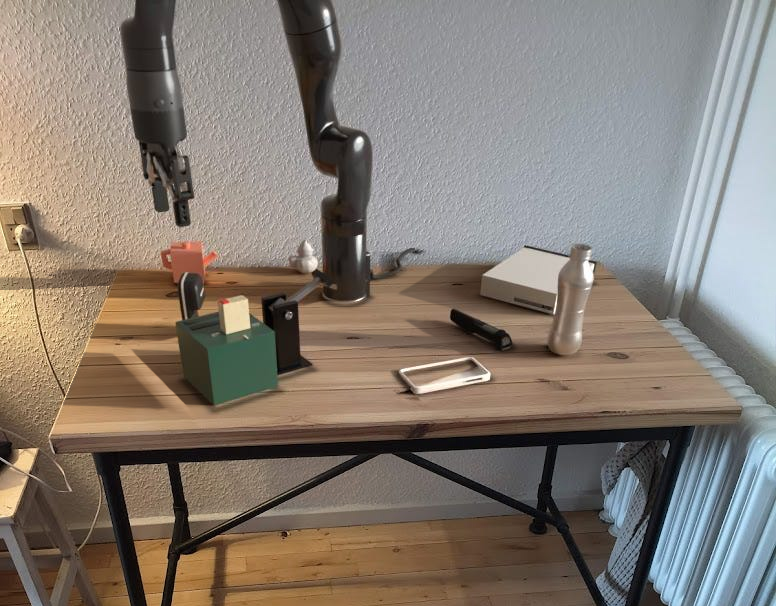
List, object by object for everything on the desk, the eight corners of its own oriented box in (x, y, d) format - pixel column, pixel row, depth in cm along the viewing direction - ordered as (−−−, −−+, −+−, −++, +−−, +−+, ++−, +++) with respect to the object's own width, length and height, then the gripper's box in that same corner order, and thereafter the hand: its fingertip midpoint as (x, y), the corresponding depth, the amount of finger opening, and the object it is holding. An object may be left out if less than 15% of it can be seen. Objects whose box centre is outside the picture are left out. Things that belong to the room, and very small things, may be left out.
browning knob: (244, 324, 127) (242, 293, 124) (250, 328, 126) (247, 297, 122) (220, 330, 125) (217, 299, 122) (226, 334, 124) (222, 303, 120)
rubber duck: (319, 276, 174) (318, 240, 169) (290, 277, 173) (288, 241, 168) (316, 267, 178) (315, 232, 173) (287, 268, 177) (285, 233, 172)
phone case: (471, 362, 142) (397, 376, 138) (471, 355, 142) (397, 369, 137) (490, 380, 137) (415, 395, 132) (491, 373, 136) (415, 388, 131)
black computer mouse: (204, 342, 146) (197, 283, 139) (184, 341, 146) (176, 283, 139) (210, 326, 151) (203, 269, 144) (190, 326, 151) (182, 269, 144)
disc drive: (592, 282, 175) (597, 261, 172) (554, 315, 160) (558, 292, 157) (522, 266, 182) (525, 245, 179) (479, 296, 167) (481, 273, 164)
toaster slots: (232, 310, 131) (232, 309, 131) (242, 317, 129) (242, 317, 129) (183, 322, 127) (183, 321, 127) (192, 330, 125) (192, 329, 125)
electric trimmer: (458, 320, 158) (459, 305, 156) (513, 346, 148) (515, 331, 146) (445, 324, 156) (446, 309, 154) (499, 351, 146) (501, 336, 144)
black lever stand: (293, 354, 143) (289, 288, 135) (312, 369, 138) (310, 301, 131) (254, 365, 139) (248, 297, 131) (273, 381, 135) (268, 312, 127)
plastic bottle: (581, 347, 149) (602, 243, 137) (576, 362, 144) (597, 256, 131) (548, 341, 150) (566, 238, 138) (542, 356, 145) (560, 250, 133)
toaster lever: (320, 276, 136) (314, 265, 134) (335, 286, 133) (330, 274, 131) (269, 314, 134) (263, 304, 132) (283, 325, 131) (278, 314, 129)
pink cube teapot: (221, 284, 168) (217, 247, 163) (164, 287, 166) (159, 249, 161) (220, 271, 174) (216, 235, 169) (165, 274, 172) (159, 237, 167)
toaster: (245, 363, 140) (240, 305, 133) (279, 391, 132) (275, 331, 125) (184, 381, 134) (175, 320, 127) (215, 411, 126) (207, 348, 119)
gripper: (201, 110, 108) (213, 227, 118) (162, 93, 117) (177, 203, 127) (149, 115, 105) (167, 235, 115) (114, 97, 114) (133, 210, 124)
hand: (172, 218), depth 121 cm, fingers open, 8 cm apart
